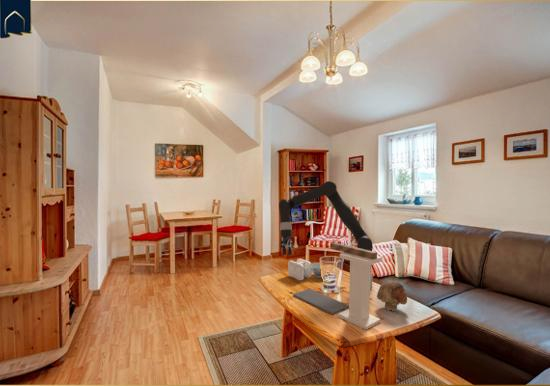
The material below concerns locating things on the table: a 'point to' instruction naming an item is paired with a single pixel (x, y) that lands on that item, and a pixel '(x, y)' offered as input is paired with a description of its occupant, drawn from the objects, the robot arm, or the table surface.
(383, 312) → the table surface
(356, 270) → the stand
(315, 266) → the chinaware
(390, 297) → the sculpture
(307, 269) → the cable organizer
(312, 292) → the rubber mat
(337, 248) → the walnut bar
